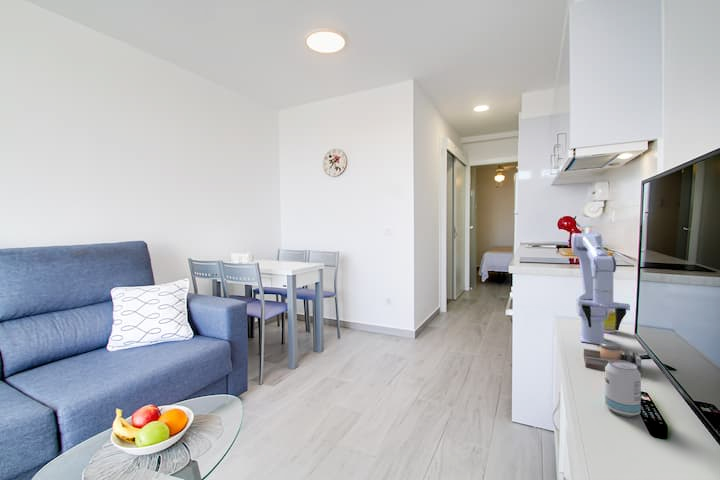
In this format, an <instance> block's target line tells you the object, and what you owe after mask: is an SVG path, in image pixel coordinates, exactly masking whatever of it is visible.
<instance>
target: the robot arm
mask: <svg viewBox="0 0 720 480" xmlns="http://www.w3.org/2000/svg"><path fill="white" fill-rule="evenodd" d="M570 242H571V251H572V254H573V255H574V256H576V257H577V258H578V262H579V268H580V269H579V271H580V275H581V282H582V292H583V293H582V294H580V295H579V296H578V297H577V298H576V313H577V316H578V317H580V318H581V322H580V323H581V324H580V325H581V326H580V327H581V328H580V329H581V333H579V339H580V342H581V343H586V344H597V345H600V342H603V341H606V340H605V332H604V320H605V318H608V317H609V308H610V309H615V317H616V320H615V329H616V331H619V330H620V326H621V323H622V321H623V319H624V318H625V316H626V314H627V311H631V304H630V303H623V302H618V301H617V302H616V301H614V273H616V271H617V260H616V258H615V256H614V255H609V254H608V252H607V250H606V249H605V248H604V247H603V246H602V242H603V238H602V234H601V233H600V232H592V233H591V232H590V233H589V232H588V233H586V232H584V233H582V232H581V233H579V232H578V233H576V232H573V233H572V234H571V238H570Z"/></svg>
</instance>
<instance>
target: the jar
mask: <svg viewBox="0 0 720 480" xmlns="http://www.w3.org/2000/svg"><path fill="white" fill-rule="evenodd" d="M599 348H600V350H599V351H600V359H607V360H621V354H622V345H621V344H619V343H617V342H614V341H613V342H612V341H606V340H605V341H603V342H600V344H599Z"/></svg>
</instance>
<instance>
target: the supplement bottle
mask: <svg viewBox="0 0 720 480" xmlns="http://www.w3.org/2000/svg"><path fill="white" fill-rule="evenodd" d="M615 320H616V317H615V309H610V308H609V317H608V318H605V320H604V333H608V334H614V333H616V331H617V330H616V329H615Z"/></svg>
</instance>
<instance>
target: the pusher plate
mask: <svg viewBox="0 0 720 480" xmlns="http://www.w3.org/2000/svg"><path fill="white" fill-rule="evenodd" d="M623 354H624V361H627V362H630V363H631V355H632V353H631V352H630V350H629V349H628V348H623Z"/></svg>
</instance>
